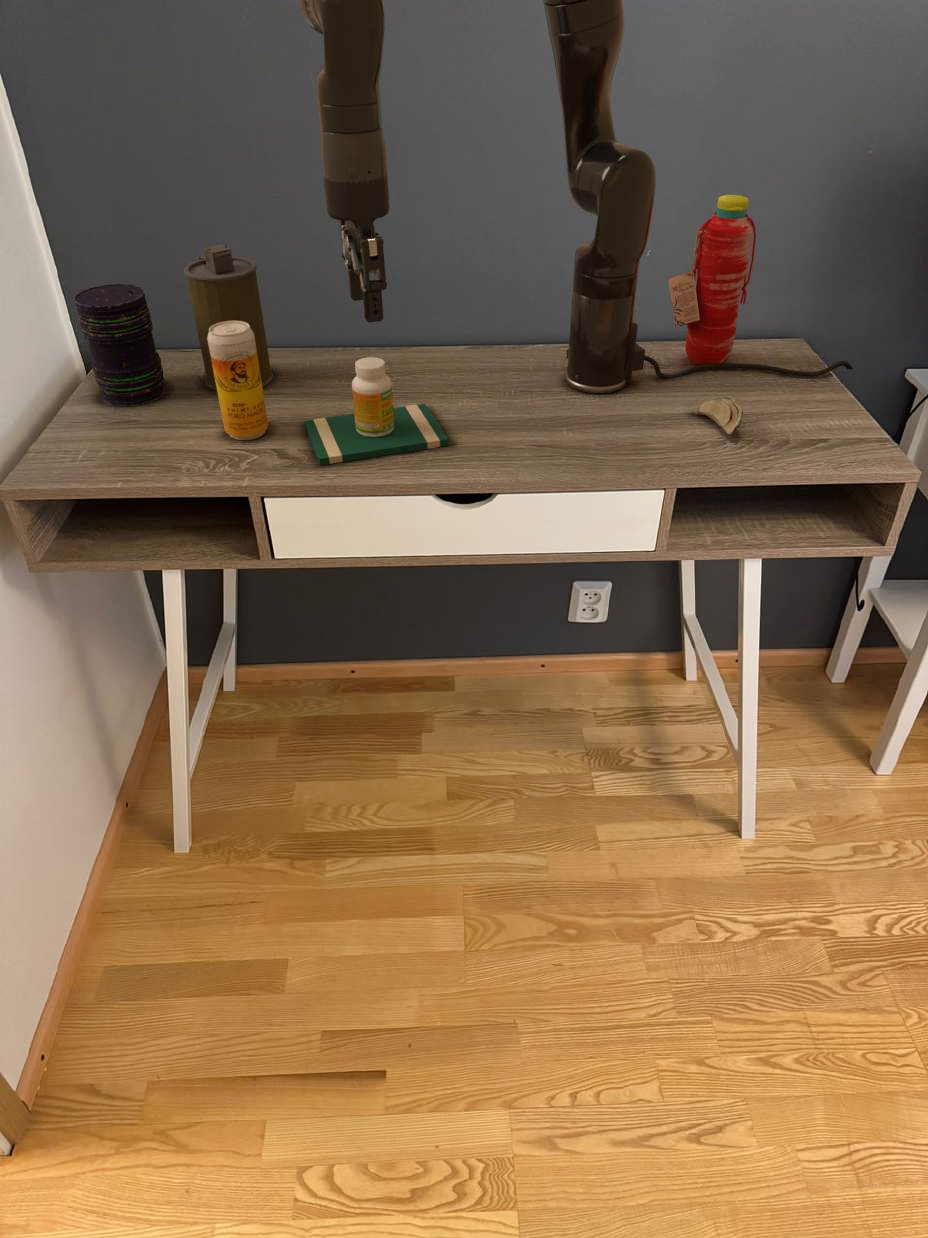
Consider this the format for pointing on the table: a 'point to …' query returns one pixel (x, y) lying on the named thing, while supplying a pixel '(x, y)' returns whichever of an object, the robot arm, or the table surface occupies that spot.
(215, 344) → the beer can
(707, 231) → the water bottle
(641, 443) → the table surface
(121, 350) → the dark cylinder
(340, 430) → the towel
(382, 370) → the supplement bottle
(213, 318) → the canister
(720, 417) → the dumpling
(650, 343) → the table surface
